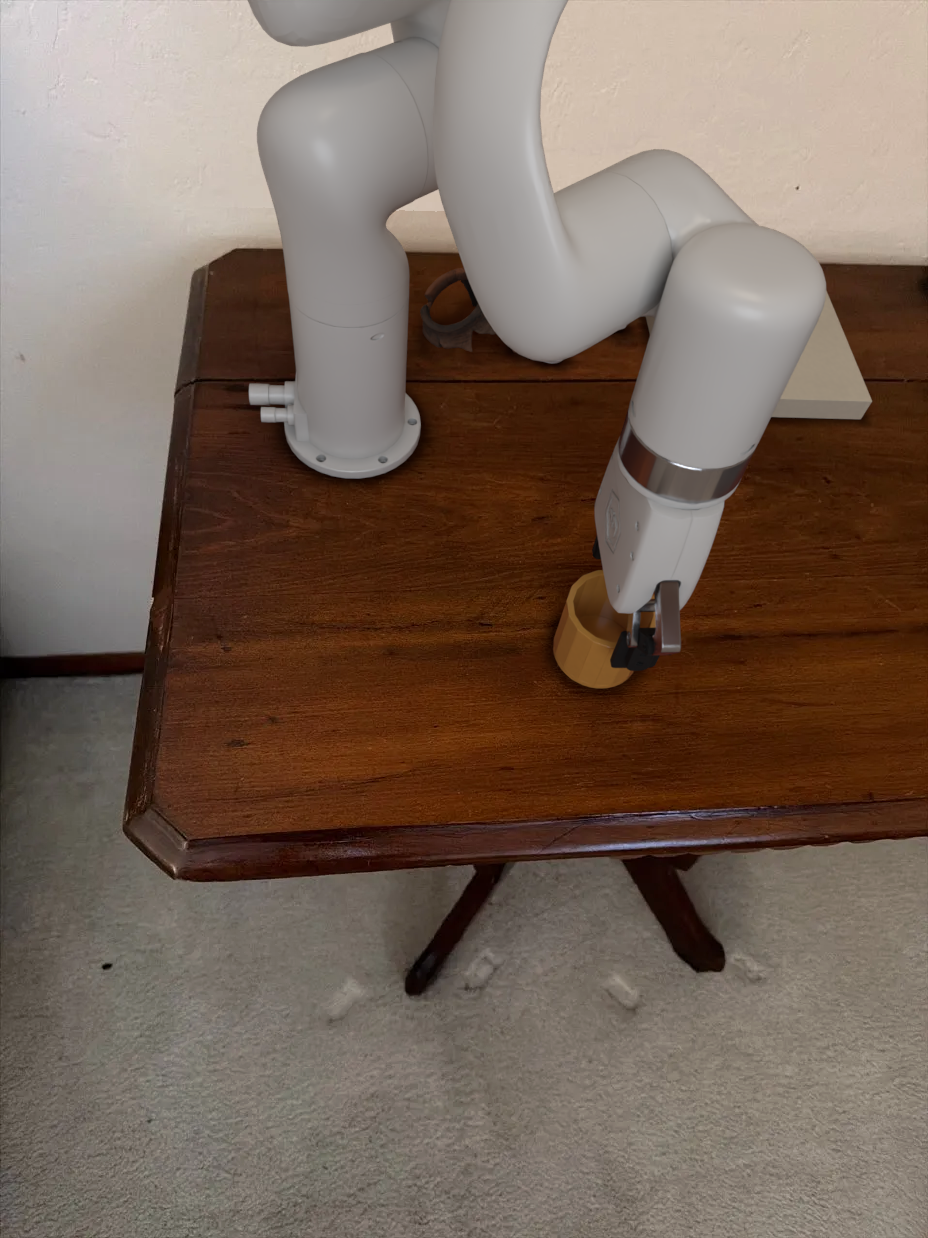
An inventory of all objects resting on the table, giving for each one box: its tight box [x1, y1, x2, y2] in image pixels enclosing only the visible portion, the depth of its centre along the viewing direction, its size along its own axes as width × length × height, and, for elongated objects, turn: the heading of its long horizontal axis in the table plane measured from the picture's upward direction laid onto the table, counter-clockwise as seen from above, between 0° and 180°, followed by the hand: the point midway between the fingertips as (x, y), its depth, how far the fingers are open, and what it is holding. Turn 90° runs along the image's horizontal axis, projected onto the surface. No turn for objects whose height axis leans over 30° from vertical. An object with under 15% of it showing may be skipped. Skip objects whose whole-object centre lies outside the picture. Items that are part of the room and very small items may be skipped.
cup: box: [552, 569, 656, 689], centre depth 69 cm, size 7×7×6 cm
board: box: [645, 290, 873, 420], centre depth 92 cm, size 20×18×2 cm
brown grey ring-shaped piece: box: [419, 267, 517, 354], centre depth 89 cm, size 12×10×8 cm
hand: (621, 607), depth 66 cm, fingers open, 9 cm apart
